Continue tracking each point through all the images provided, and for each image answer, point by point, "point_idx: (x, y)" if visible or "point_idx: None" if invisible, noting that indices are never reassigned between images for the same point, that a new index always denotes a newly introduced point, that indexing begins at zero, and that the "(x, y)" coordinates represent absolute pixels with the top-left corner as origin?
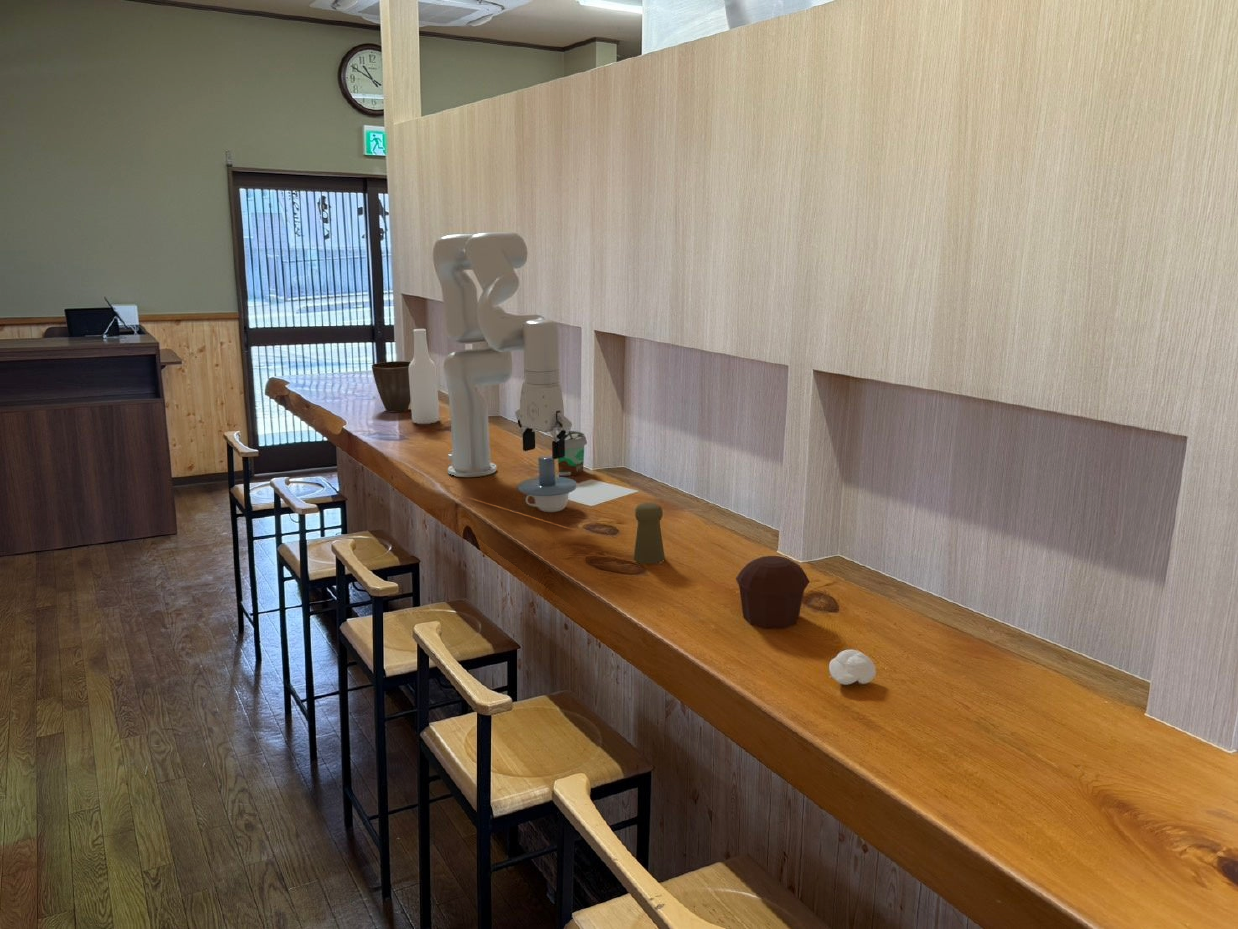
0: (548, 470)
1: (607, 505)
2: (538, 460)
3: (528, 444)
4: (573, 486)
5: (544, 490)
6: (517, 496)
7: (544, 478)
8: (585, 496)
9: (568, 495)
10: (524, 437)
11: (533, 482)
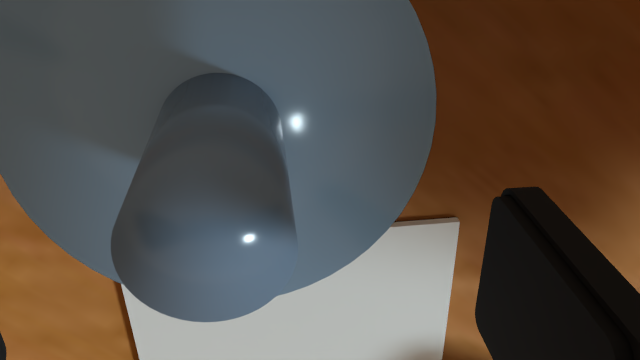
0: (139, 162)
1: (99, 309)
2: (255, 174)
3: (516, 281)
4: (40, 219)
5: (81, 5)
6: (550, 115)
7: (177, 105)
8: (263, 312)
9: (335, 273)
10: (602, 311)
11: (338, 91)
